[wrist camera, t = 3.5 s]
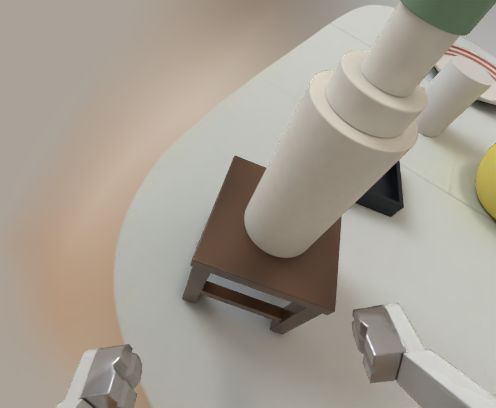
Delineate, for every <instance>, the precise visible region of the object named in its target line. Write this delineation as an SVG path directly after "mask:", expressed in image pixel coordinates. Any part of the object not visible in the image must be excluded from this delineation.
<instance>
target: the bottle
mask: <svg viewBox="0 0 496 408" xmlns="http://www.w3.org/2000/svg"><path fill="white" fill-rule="evenodd" d="M495 2H496V0H401V1H400V3H399V5H398V6H397V8H396V9H395V11H394V12H393V14H392V15H391V17H390V19H389V20H388V22H387V23H386V25H385V27H384V28H383V30H382V31H381V33H380V35H379V36H378V38H377V39H376V41H375V43H374V44H373V46H372V47H371V49H370V50H369V52H367V51H350V52H348V53H346V54H345V55H344V56H343V57H342V59H341V60H340V62H339V64H338V66H337V67H336V69H335V70H326V71H322V72H320V73H318V74H316V75H315V76H314V77H313V78H312V80H311V81H310V83H309V85H308V87H307V89H306V91H305V93H304V95H303V97H302V99H301V101H300V103H299V105H298V107H297V109H296V111H295V113H294V115H293V117H292V119H291V121H290V123H289V125H288V127H287V129H286V131H285V133H284V135H283V137H282V138H281V140H280V142H279V144H278V146H277V148H276V150H275V152H274V154H273V156H272V158H271V160H270V162H269V164H268V166H267V168H266V170H265V172H264V174H263V176H262V178H261V180H260V182H259V184H258V186H257V188H256V190H255V192H254V194H253V196H252V198H251V200H250V202H249V204H248V206H247V208H246V210H245V214H244V223H245V228H246V230H247V233H248V235H249V237H250V238H251V240H252V241H253V242H254V243H255V244H256V245H257V246H258V247H259V248H260V249H262V250H263V251H265V252H266V253H268V254H270V255H273V256H276V257H281V258H291V257H295V256H298V255H300V254H302V253H303V252H305V251H306V250H307V249H308V248H309V247H310V246H311V245H312V244H313V243H314V242H315V241H316V240H317V239H318V238H319V237H320V236H321V235H322V234H323V233H324V232H325V231H326V230H328V229H329V228H330V227H331V226H332V225H333V224H334V223H335V222H336V221H337V220H338V219H339V218H340V217H341V216H342V215H343V214H344V213H345V212H346V211H347V210H348V209H349V208H350V207H351V206H352V205H353V204H354V203H355V202H356V201H357V200H358V199H359V198H360V197H362V196H363V195H364V194H365V193H366V192H367V191H368V190H369V189H370V188H371V187H372V186H373V185H374V184H375V183H376V182H377V181H378V180H379V179H380V178H381V177H382V176H383V175H384V174H385V173H386V172H387V171H388V170H389V169H390V168H391V167H392V166H393V165H394V164H395V163H397V162H398V161H399V160H400V159H401V158H402V157H403V156H404V155H405V154H406V153H407V152H408V151H409V150H410V149H411V148H412V147H413V146H414V145H415V143H416V141H417V138H418V129H417V125H416V122H415V119H416V118H417V117H418V116H419V115H420V113H421V112H422V111H423V110H424V109H425V108H426V106H427V103H428V98H427V94H426V92H425V90H424V89H423V87H422V86H421V84H420V82H421V81H422V80H423V79H424V77H425V76H426V75H427V74H428V73H429V72H430V70H431V69H432V68H433V67H434V66H435V65H436V63H437V62H438V61H439V60H440V59H441V57H442V56H443V55H444V54H445V53H446V52H447V50H448V49H449V48H450V47H451V46H452V44H453V43H454V42H455V41H456V40H457V39H458V37H459V36H460V35H467V34H469V33H470V32H471V31H472V29H473V28H474V27H475V26H476V25H477V23H479V21H480V20H481V19H482V18H483V17H484V15H485V14H486V13H487V12H488V11H489V10H490V9H491V8H492V6H493V5H494V4H495Z"/></svg>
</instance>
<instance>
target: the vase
mask: <svg viewBox="0 0 496 408" xmlns="http://www.w3.org/2000/svg"><path fill="white" fill-rule="evenodd" d="M476 189H477V196H478V198H479V200H480V202H481V204H482V205H483V207H484V208H485V209H486V211H487V212H488V213H489V214H490V215H491V216H492V217H493V218H494V219H495V220H496V143H495V144H494V145H493V146H492V147H491V148H489V150H488V151H487V153H486V155H485V156H484V158H483V160H482V161H481V163H480V165H479V168H478V172H477V177H476Z"/></svg>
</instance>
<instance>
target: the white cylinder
mask: <svg viewBox="0 0 496 408" xmlns="http://www.w3.org/2000/svg"><path fill="white" fill-rule="evenodd" d="M493 84H494V80H493V78H492V77H491V75H490V74H489V73H488V72H487V71H486V70H484V69H483V68H482V67H481V66H479V65H478V64H476V63H474V62H473V61H471V60H469V59H467V58H464V57H461V56H453V57H452V58H451V59H450V60H449V61H448V63H447V64H446V65H445V66H444V67H443V68H442V69H441V71H440V72H439V73H438V74H437V75H436V76H435V77H434V79H433V80H432V81H431V82H430V83H429V84H428V85H427V87H426V88H425V89H424V90H425V92H426V94H427V98H428V103H427V106H426V108H425V109H424V110H423V111H422V112H421V113H420V115H419V116H418V117H417V118H416V119H415V122H416V125H417V129H418V132H419V133H421V134H423V135H425V136H428V137H436V136H438V135H439V134H440V133H441V132H442V131H443V130H444V129H445V128H446V127H447V126H449V125H450V124H451V123H452V122H453V121H454V120H455V119H456V118H457V117H458V116H459V115H460V114H462V113H463V112H464V111H465V110H466V109H467V108H468V107H469V106H470V105H471V104H472V103H473V102H474V101H476V100H477V99H478V98H479V97H480V96H481V95H482V94H483V93H484V92H485V91H486V90H487V89H489V88H490V87H491V86H492V85H493Z"/></svg>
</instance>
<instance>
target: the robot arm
mask: <svg viewBox="0 0 496 408" xmlns="http://www.w3.org/2000/svg"><path fill="white" fill-rule="evenodd" d="M353 318H354V320H355V321H354V322H352V330H353V336H354V339H355V343H356V346H357V348H358V350H359V351H360V352H361V353H362V354H363V365H364V368H365V370H366V373H367V376H368V378H369V381H370V383H376V382H385V381H394V380H396V382H397V383H398V384H399V385H400V386H401V387H402V388H403V389H404V390H405V391H406V392H407V393H408V394H409V395H410V396H411V397H412V398H413V399H414V400H415V401H416V402H417V403H418V404H419V405H420V406H421V407H422V408H496V397H494V396H493V395H492V394H490V393H489V392H488V391H486V390H485V389H484V388H482V387H481V386H479V385H478V384H477V383H475V382H474V381H473V380H471V379H470V378H469V377H467V376H466V375H465V374H463V373H462V372H460V371H459V370H458V369H456V368H455V367H454V366H452V365H451V364H450V363H448V362H447V361H445V360H444V359H443V358H441V357H440V356H439V355H437V354H436V353H435V352H433V351H432V350H431V349H428V350H425V348H424V346H423V344H422V342H421V341H420V339H419V337H418V335H417V334H416V332H415V330H414V328H413V326H412V325H411V323H410V321H409V319H408V318H407V316H406V314H405V312H404V310H403V309H402V307H401V306H400V305H399V304H398V303H393V304H386V305H379V306H373V307H367V308H361V309H355V310H354V311H353ZM132 349H133V348H132V347H131V346H130V345H129V344H126V345H119V346H112V347H106V348H98V349H92V350H86V352H85V353H84V354H83V355H82V357H81V360H80V362H79V365H78V367H77V370H76V372H75V375H74V377H73V380H72V382H71V384H70V387H69V389H68V392H67V394H66V397H65V399H64V401H62V402H59V403H58V404H57V405H56V407H55V408H134V405H135V401H136V397H137V394H136V391H135V389H134V388H135V387H136V386H137V384H138V383H139V382H140V379H141V374H142V363H141V359H140V357H139V356H138V355H137V354H134V353H132Z"/></svg>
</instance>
